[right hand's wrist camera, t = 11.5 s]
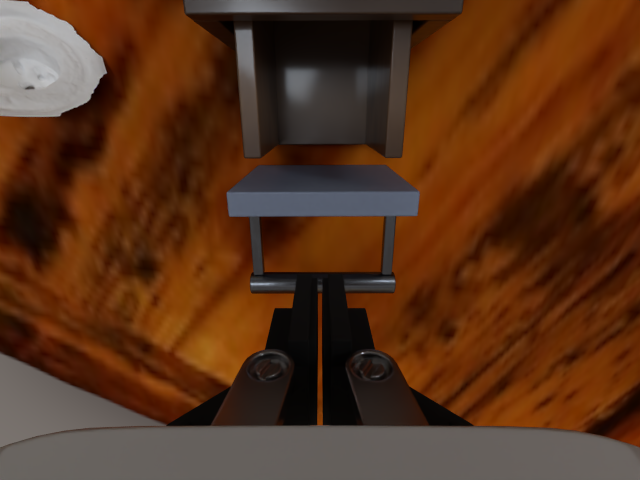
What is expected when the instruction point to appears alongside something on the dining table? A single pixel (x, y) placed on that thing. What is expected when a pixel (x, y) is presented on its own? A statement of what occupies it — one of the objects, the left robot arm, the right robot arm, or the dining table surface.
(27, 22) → the seashell
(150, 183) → the dining table surface
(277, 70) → the drawer
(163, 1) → the dining table surface
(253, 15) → the cabinet
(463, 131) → the dining table surface
